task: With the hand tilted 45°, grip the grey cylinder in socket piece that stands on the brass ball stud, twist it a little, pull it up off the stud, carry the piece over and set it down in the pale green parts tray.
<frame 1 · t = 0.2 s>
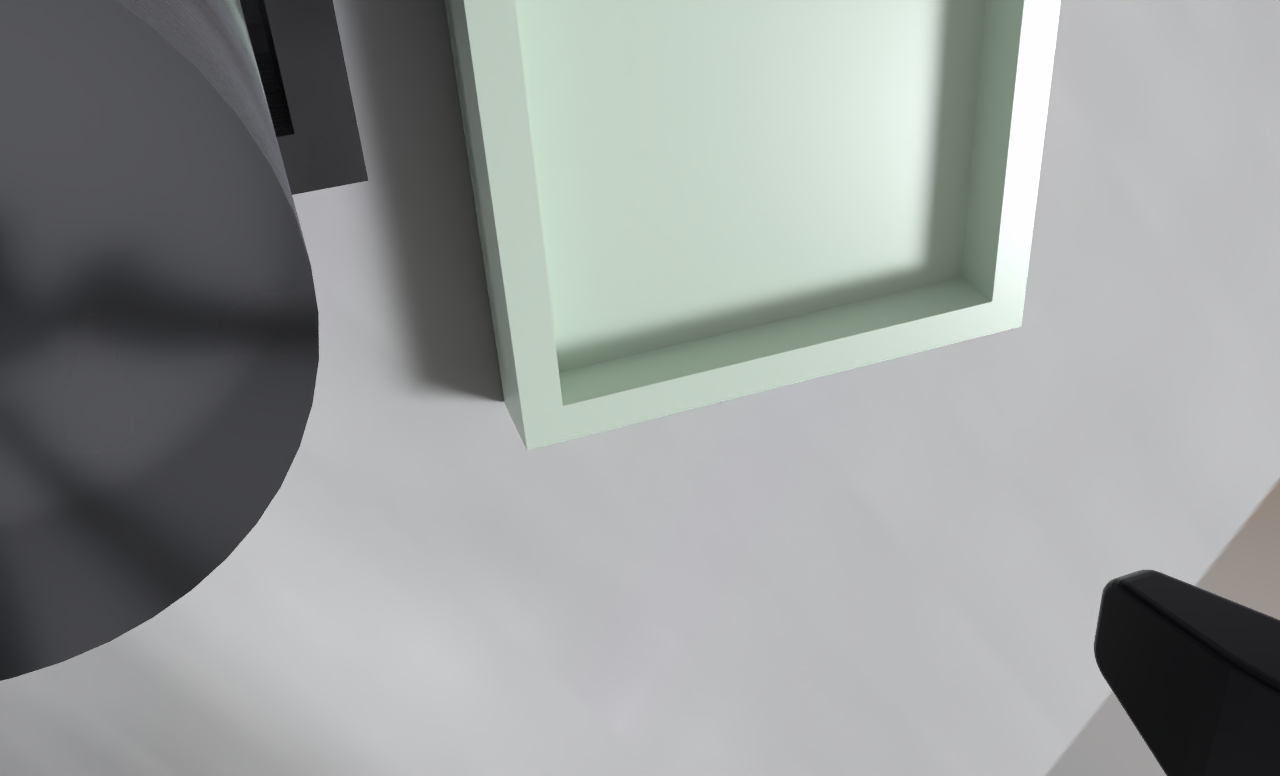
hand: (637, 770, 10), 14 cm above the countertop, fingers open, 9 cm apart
tray: (747, 96, 23), on the countertop
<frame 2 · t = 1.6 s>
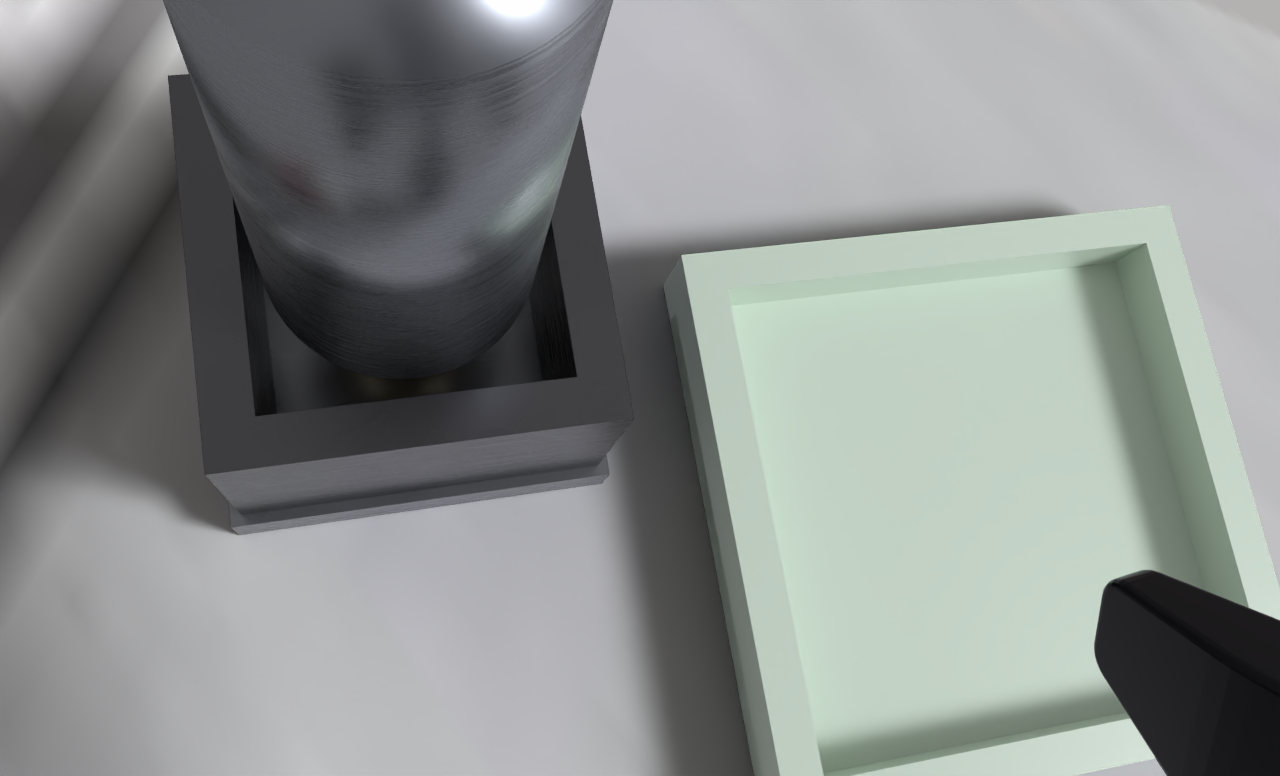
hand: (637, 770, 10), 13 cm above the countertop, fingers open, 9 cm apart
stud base: (403, 337, 24), on the countertop
tray: (959, 503, 25), on the countertop
grey cylinder in socket: (402, 322, 23), point 1 cm above the countertop, touching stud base
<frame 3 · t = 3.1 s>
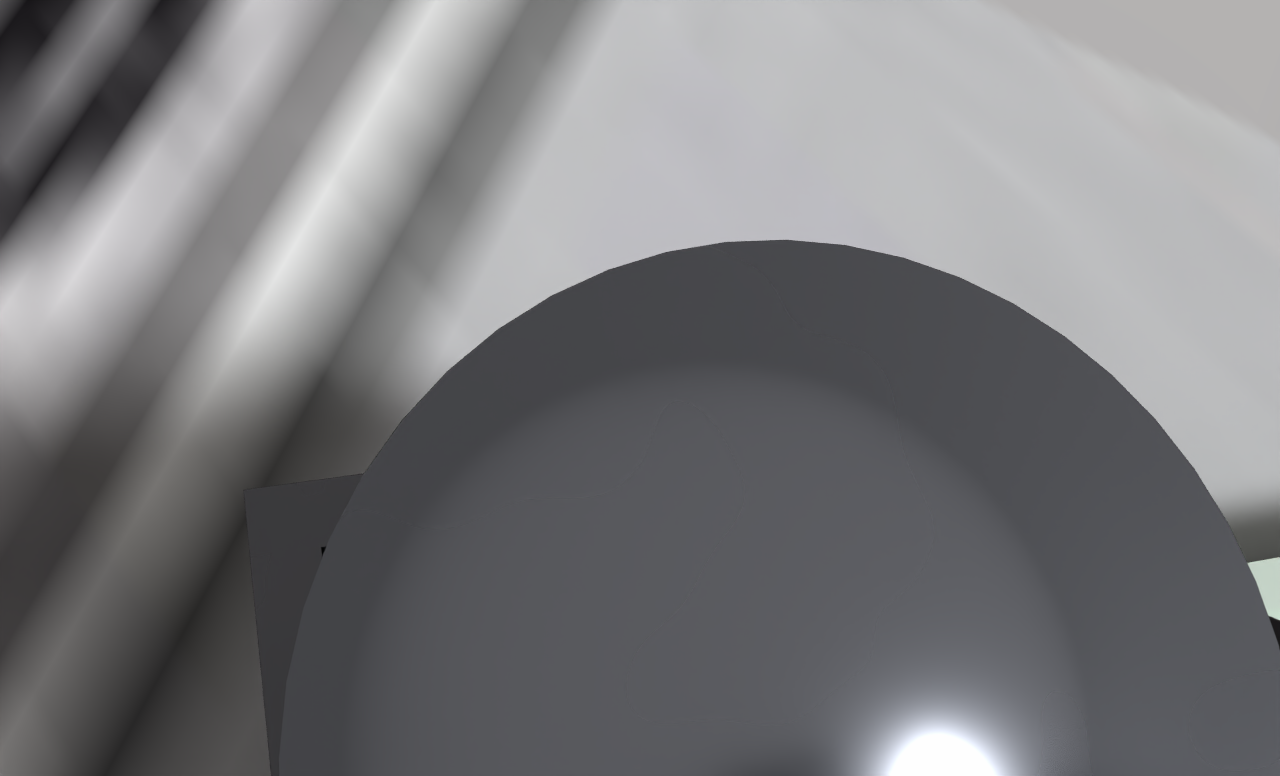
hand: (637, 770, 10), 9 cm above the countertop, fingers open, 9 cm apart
grey cylinder in socket: (533, 725, 18), point 1 cm above the countertop, touching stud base
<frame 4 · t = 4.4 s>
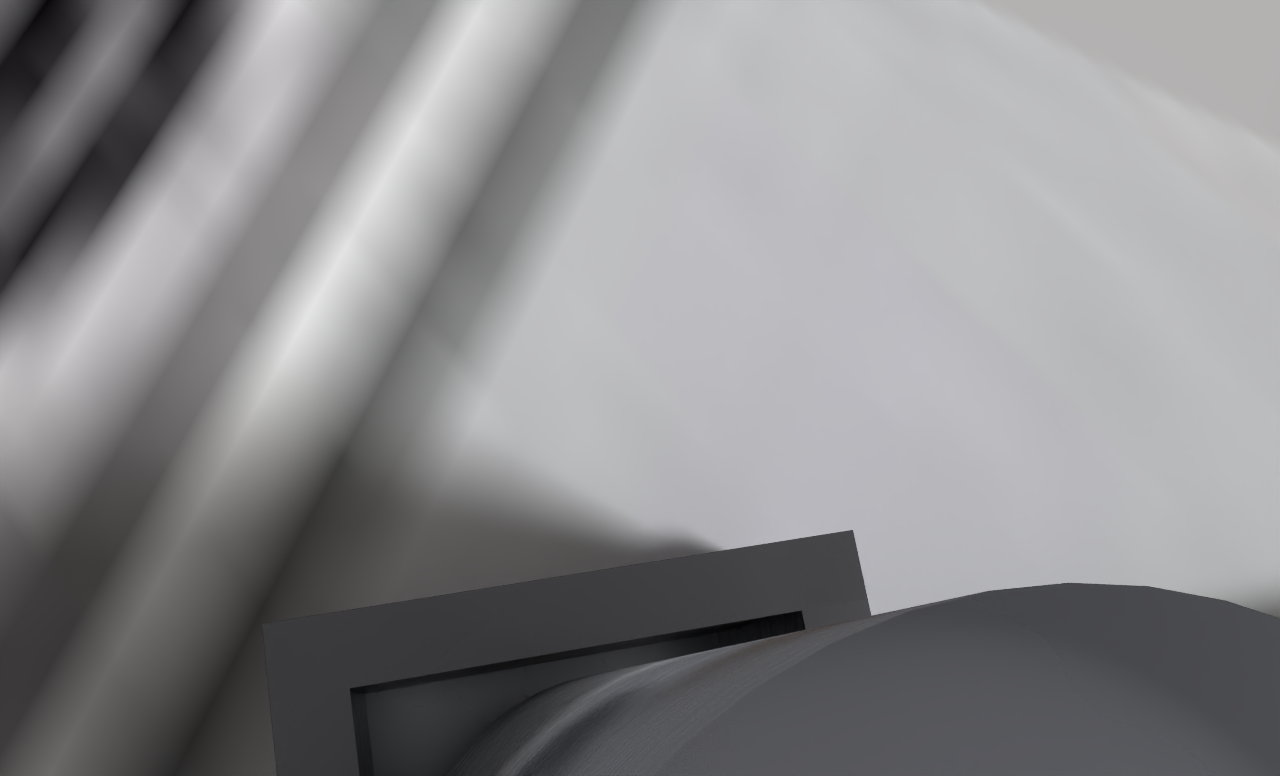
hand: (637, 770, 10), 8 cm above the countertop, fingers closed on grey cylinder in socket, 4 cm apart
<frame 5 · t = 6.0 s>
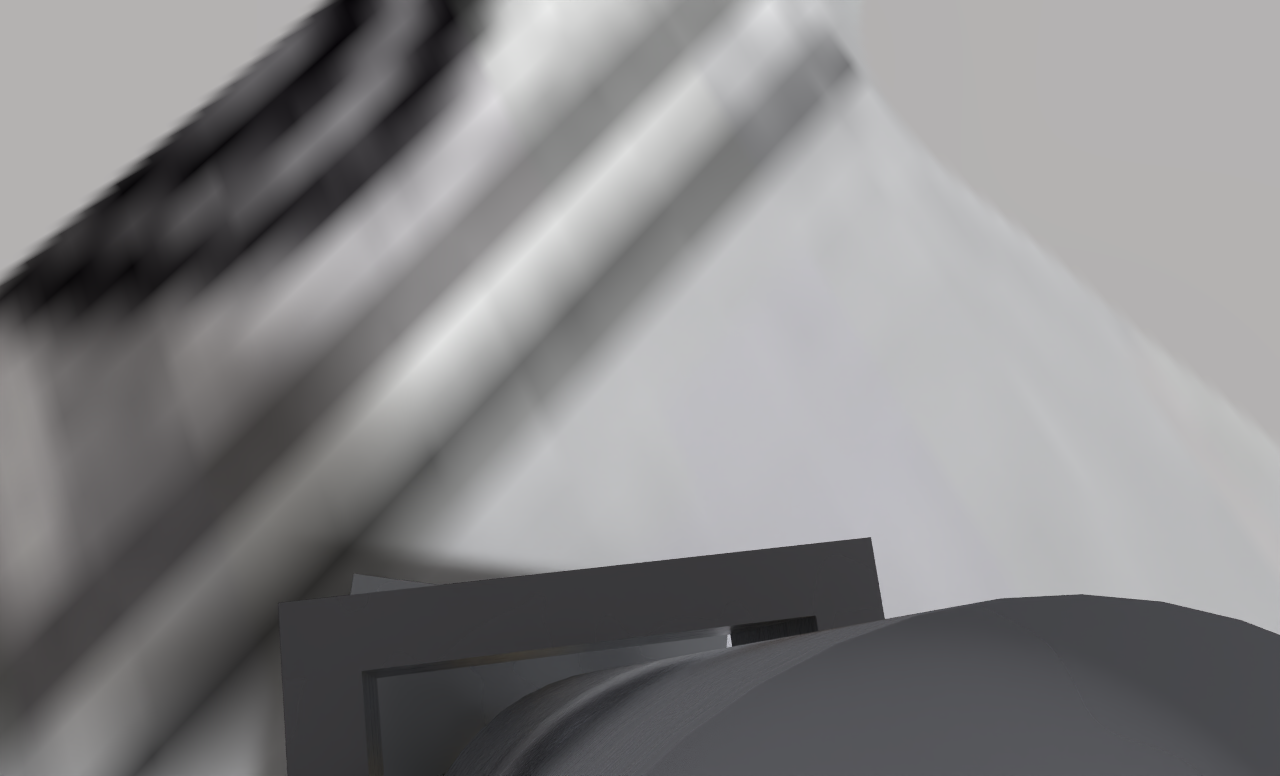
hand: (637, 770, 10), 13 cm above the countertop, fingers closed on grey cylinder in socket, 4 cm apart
when the fingers open (9 cm above the countertop, at t = 7.9 s): grey cylinder in socket drops 1 cm, resting on tray.
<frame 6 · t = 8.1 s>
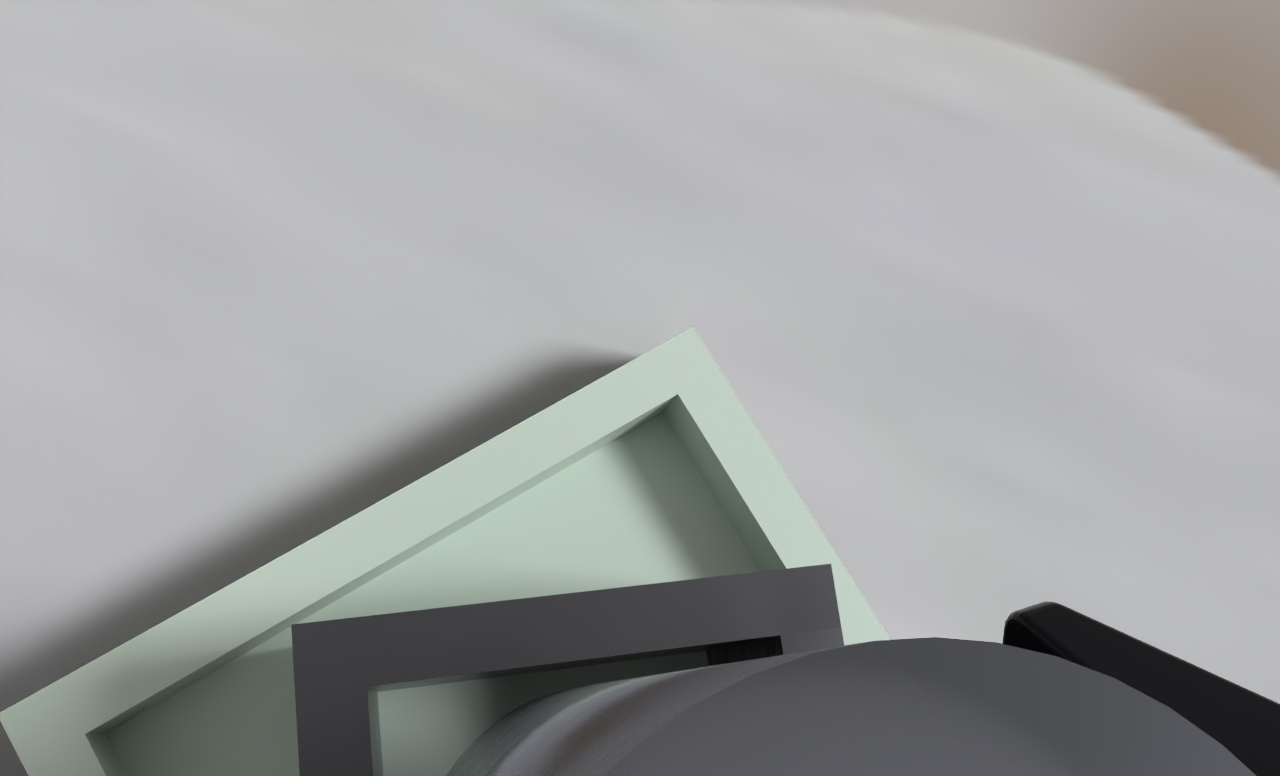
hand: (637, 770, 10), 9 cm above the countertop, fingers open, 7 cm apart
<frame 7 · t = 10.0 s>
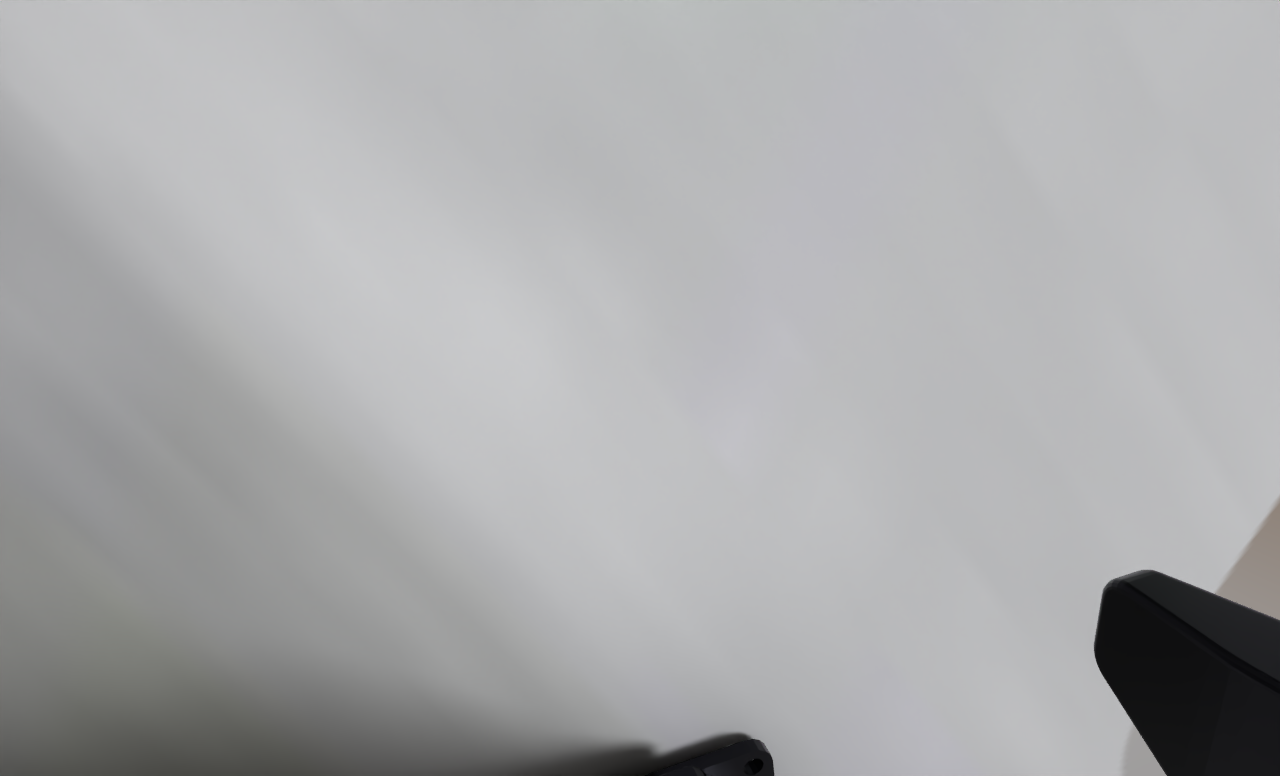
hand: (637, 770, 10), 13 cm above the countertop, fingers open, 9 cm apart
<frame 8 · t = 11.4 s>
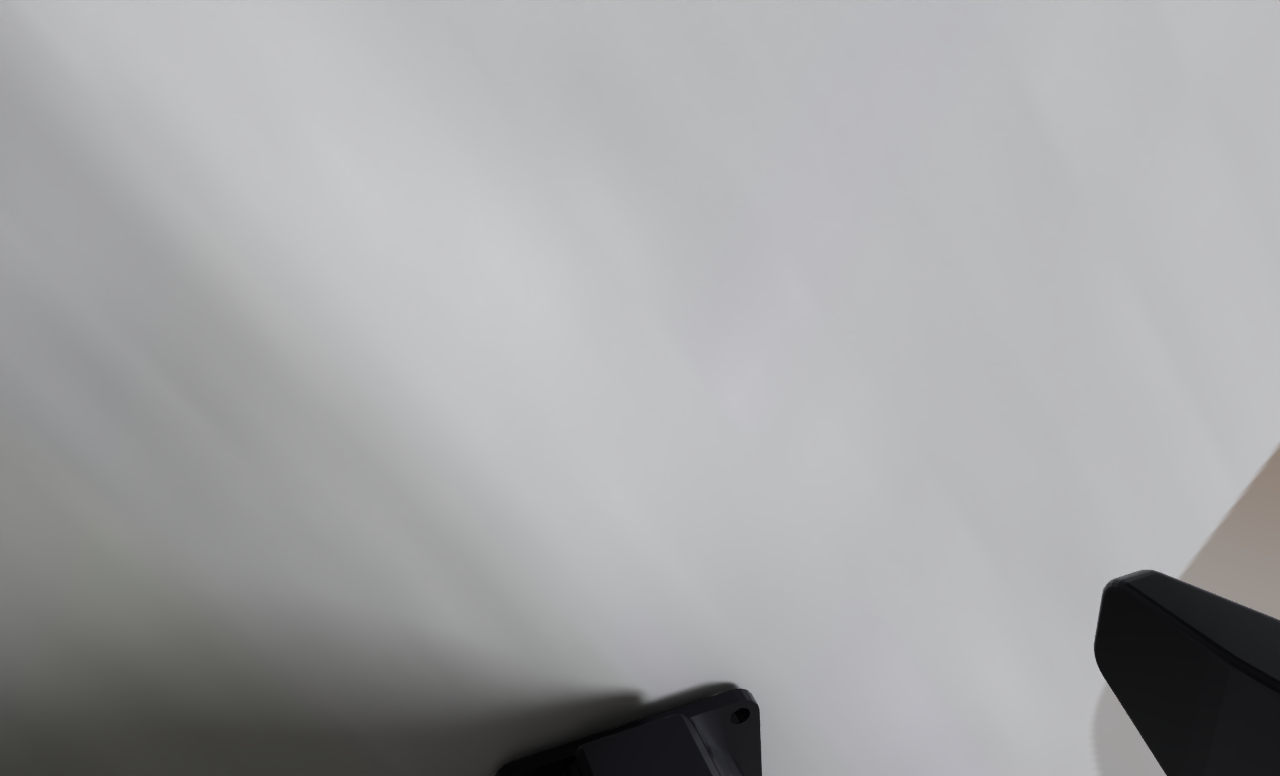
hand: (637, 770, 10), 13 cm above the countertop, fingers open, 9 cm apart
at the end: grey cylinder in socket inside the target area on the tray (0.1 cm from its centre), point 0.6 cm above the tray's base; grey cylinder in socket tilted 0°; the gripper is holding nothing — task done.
